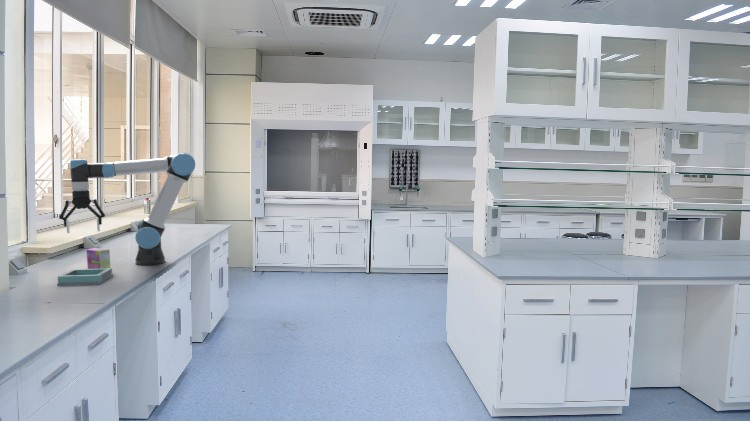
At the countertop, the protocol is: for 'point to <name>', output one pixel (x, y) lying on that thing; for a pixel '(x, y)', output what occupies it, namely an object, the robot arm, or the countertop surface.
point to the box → (98, 258)
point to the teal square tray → (85, 277)
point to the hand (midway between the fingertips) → (83, 232)
